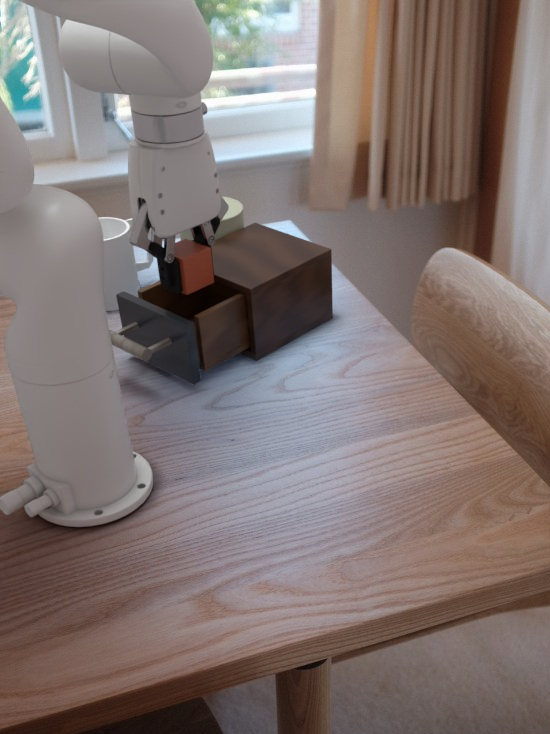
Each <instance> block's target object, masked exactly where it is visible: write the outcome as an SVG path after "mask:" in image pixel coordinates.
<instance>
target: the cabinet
mask: <svg viewBox="0 0 550 734" xmlns="http://www.w3.org/2000/svg"><path fill="white" fill-rule="evenodd" d="M211 249H212V259H213V268H214V281H216V282H218V283H221V284H223V285H225V286H228V287H230V288H233V289H235V290H238V291H240V292H243V293H245V294H246V297H247V309H248V320H249V332H250V344H251V347H249V348H247V349H246V350H244V351H242V352H240V353H239V354H241V355H242V356H245V357H247V358H249V359H251V360H254V361H256V362H257V361H259V360H261V359H263V358H264V357H266V356H268V355H269V354H271V353H273V352H275V351H277V350H278V349H280V348H282V347H284V346H285V345H287V344H289V343H291V342H292V341H294V340H296V339H298V338H299V337H302V336H303V335H306V334H307V333H308V332H310V331H312V330H314V329H315V328H318V327H319V326H321V325H322V324H324V323H326V322H328V321H330V320H331V319H333V317H334V313H333V262H332V261H333V260H332V259H333V257H332V248H330V247H327V246H324V245H321V244H318V243H315V242H313V241H310V240H307V239H304V238H301V237H298V236H296V235H292V234H290V233H286V232H283V231H281V230H278V229H275V228H272V227H270V226H266V225H263V224H260V223H258V222H253V223H251V224H249V225H246V226H244V228H242V229H239V230H237V231H235V232H233V233H230V234H228V235H226V236H223V237H221V238H219V239H217V240H215V243H214V244H213V245H211Z"/></svg>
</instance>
